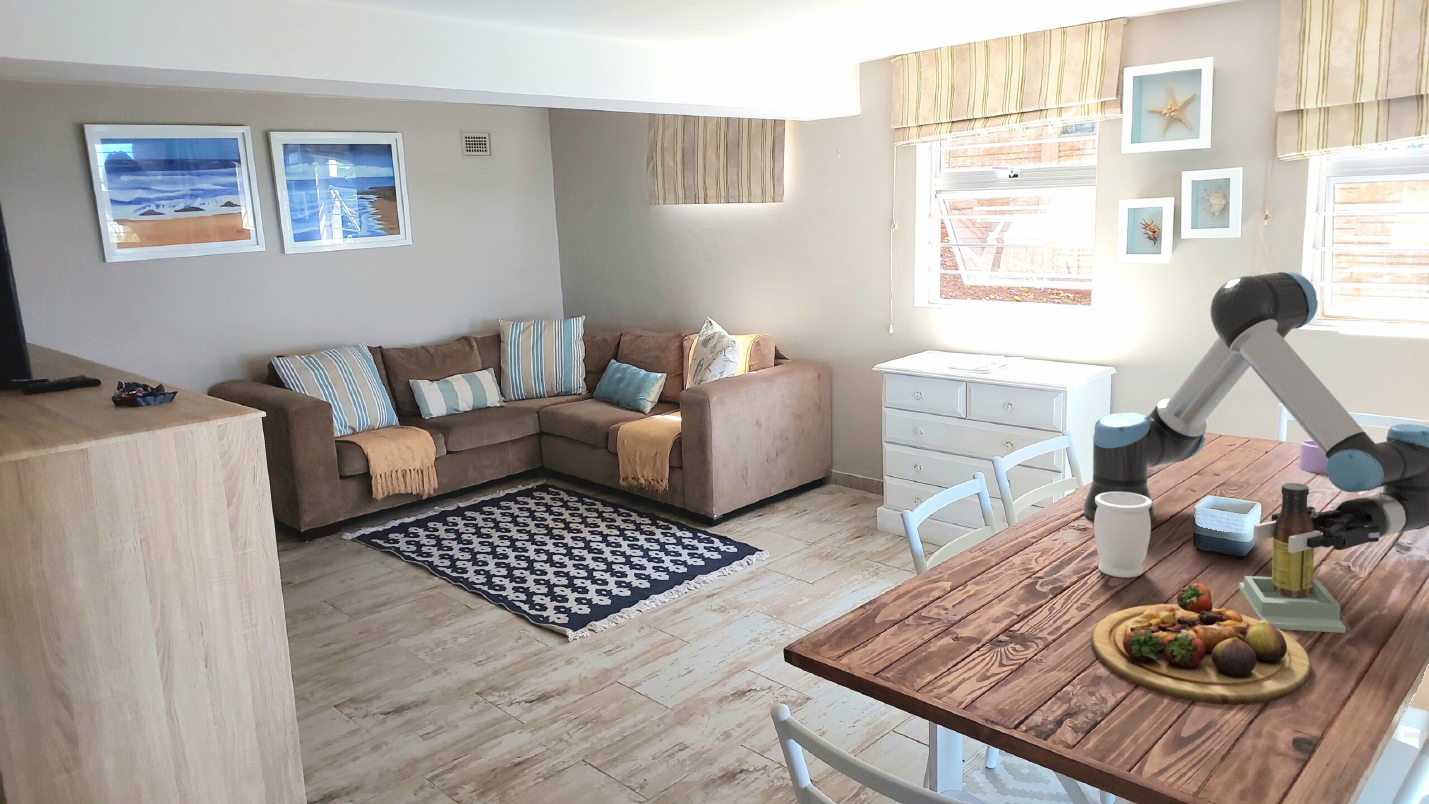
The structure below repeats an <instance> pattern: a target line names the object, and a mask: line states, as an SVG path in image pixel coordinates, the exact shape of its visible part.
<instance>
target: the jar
mask: <svg viewBox="0 0 1429 804" xmlns="http://www.w3.org/2000/svg"><path fill="white" fill-rule="evenodd" d="M1151 499H1152V498H1151ZM1151 499H1149V498H1148V497H1146V496H1143V495H1140V494H1135V493H1129V492H1106V493H1101V494H1099V495H1097V496H1096V497H1095V503H1096V504H1097V505H1098V507H1097V510H1096V513H1095V520H1093V531H1094V539H1095V547H1096V552H1097V555H1098V558H1099V560H1100V562H1099V563H1098V569H1099V571H1100V572H1101V573H1103V574H1105V575H1108V576H1110V577H1115V578H1116V577H1117V578H1124V579H1125V578H1126V579H1127V578H1135V577H1139V576H1141V575H1142V574H1143V573H1144V568H1143V566H1142V564H1143V562H1144V560H1145V559H1146V556H1147V552H1148V547H1149V543H1150V540H1151V539H1150V538H1151V532H1152V531H1151V530H1152V529H1151V528H1152V526H1151V524H1152V521H1150V514H1149V510H1148V509H1149V508H1150V507H1151V505H1152V503H1151V502H1153V500H1152V501H1151Z"/></svg>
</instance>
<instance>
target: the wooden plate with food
mask: <svg viewBox="0 0 1429 804" xmlns="http://www.w3.org/2000/svg"><path fill="white" fill-rule="evenodd" d="M1176 601H1177V603H1176V604H1174V603H1170V604H1169V603H1160V604H1159V603H1158V604H1148V605H1140V606H1133V607H1129V608H1125V609H1122V610H1119V611H1115V612H1113V613H1111V614H1109V615H1107V616H1106V617H1104V618H1103V619H1101V620H1100V621H1099V622H1098V623H1097V624H1096V626H1095V627H1094V629H1093V631H1092V633H1091V637H1090V641H1091V643H1090V644H1091V649H1092V650H1093V652H1094V655H1095V656H1096V657H1097V659H1098V660H1099V661H1100V662H1101V664H1102V665H1104V667H1106V668H1107V669H1109V670H1110V671H1111V672H1112V673H1114V674H1116V675H1118V676H1119V677H1121V678H1123V679H1125V680H1126V681H1129V682H1131V683H1132V684H1135V685H1137V686H1140V687H1142V688H1144V689H1148V690H1150V691H1153V692H1156V693H1161V694H1164V695H1166V696H1171V697H1174V698H1177V699H1184V700H1189V701H1194V702H1199V703H1208V704H1219V705H1221V704H1222V705H1253V704H1254V705H1255V704H1264V703H1269V702H1274V701H1278V700H1281V699H1283V698H1286V697H1289V696H1291V695H1293V694H1295V693H1296V692H1298V691H1299V690H1300V689H1301V688H1303V687H1304V686H1305V684H1307V683H1308V681H1309V679H1310V676H1311V673H1312V663H1311V659H1310V657H1309V654H1308V653H1307V651H1306V650H1305V648H1304V647H1303V646H1302V645H1301V644H1300V643H1298V642H1297V641H1296V639H1294V638H1293V637H1292V636H1291V635H1288V634H1287V633H1286V632H1284V631H1283V630H1282V629H1277V628H1276V627H1275V626H1273V625H1272V624H1270V623H1269V622H1266V621H1265V620H1262V621H1261V620H1260V619H1256V618H1254V617H1250V616H1248V615H1245V614H1241V613H1239V612H1238V611H1237V610H1233V609H1230V610H1229V609H1228V608H1224V607H1223V608H1215V607H1214V606H1213V602H1212V594H1211V590H1210V589H1209V588H1208V587H1207V586H1205V585H1204V584H1203V583H1192V584H1188V586H1187V588H1182V586H1181V587H1180V589H1179V592H1178V593H1177V597H1176Z"/></svg>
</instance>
